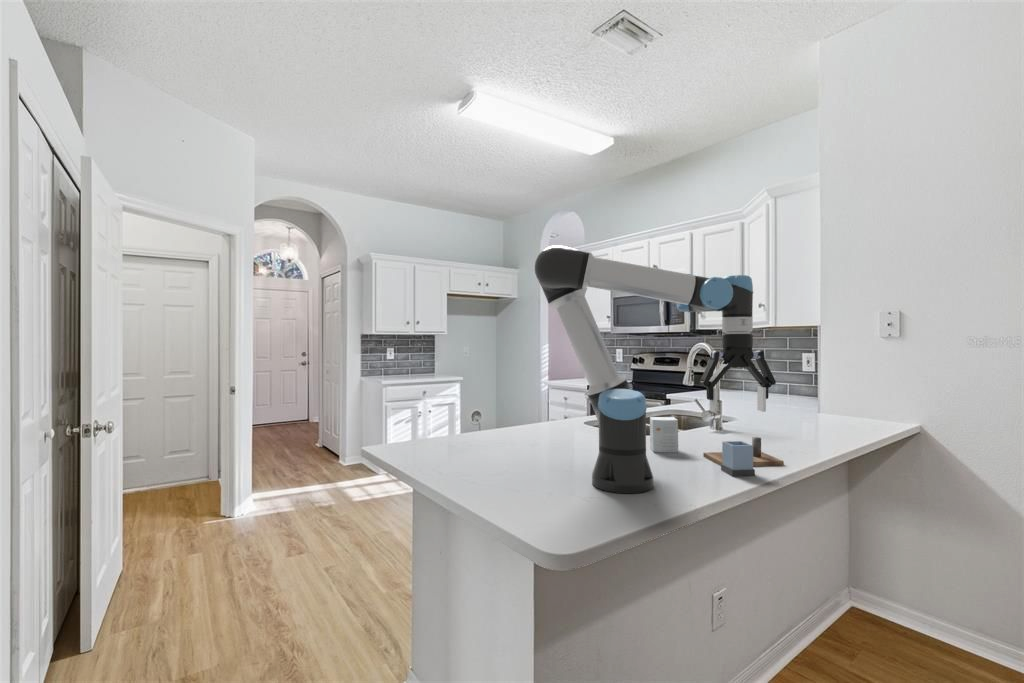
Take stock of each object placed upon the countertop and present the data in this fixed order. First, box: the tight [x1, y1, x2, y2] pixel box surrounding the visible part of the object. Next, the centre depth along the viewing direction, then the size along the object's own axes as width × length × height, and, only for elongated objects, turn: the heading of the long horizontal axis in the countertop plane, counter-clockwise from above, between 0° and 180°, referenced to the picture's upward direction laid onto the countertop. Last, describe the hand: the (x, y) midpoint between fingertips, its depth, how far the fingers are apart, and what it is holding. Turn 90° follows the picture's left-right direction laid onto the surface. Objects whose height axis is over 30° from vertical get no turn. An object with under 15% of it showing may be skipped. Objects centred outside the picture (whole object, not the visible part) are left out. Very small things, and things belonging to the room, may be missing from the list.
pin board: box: [702, 436, 785, 467], centre depth 146 cm, size 18×12×7 cm, turn 94°
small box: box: [649, 416, 679, 453], centre depth 160 cm, size 8×6×10 cm
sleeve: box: [720, 440, 756, 477], centre depth 134 cm, size 6×6×8 cm
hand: (737, 411), depth 134 cm, fingers open, 13 cm apart
